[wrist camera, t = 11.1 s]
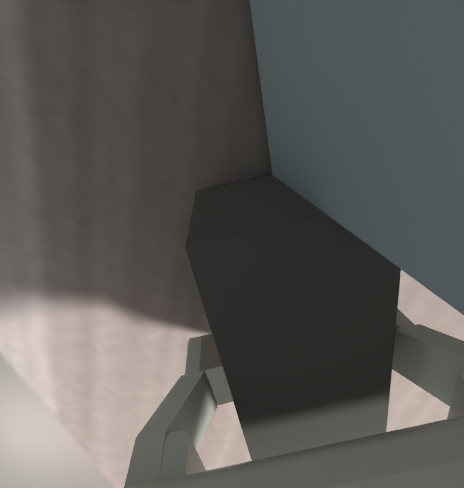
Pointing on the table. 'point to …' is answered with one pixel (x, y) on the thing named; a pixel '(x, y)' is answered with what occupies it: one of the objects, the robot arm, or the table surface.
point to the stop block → (294, 316)
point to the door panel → (372, 123)
